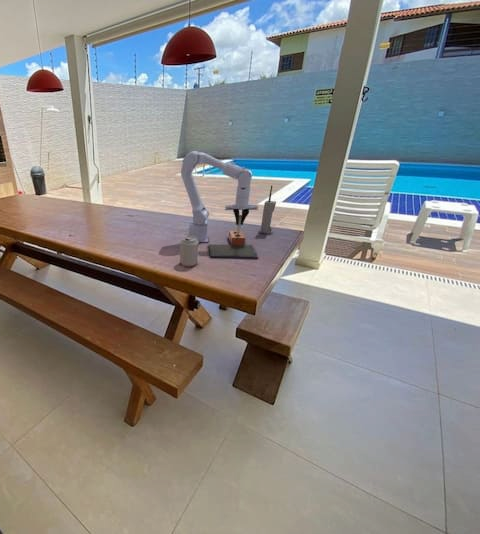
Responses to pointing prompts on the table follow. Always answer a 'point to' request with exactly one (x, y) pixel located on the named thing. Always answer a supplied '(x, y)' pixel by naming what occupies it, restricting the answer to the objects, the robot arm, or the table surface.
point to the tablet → (232, 251)
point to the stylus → (239, 224)
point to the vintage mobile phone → (267, 215)
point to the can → (189, 251)
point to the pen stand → (236, 238)
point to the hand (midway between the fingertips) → (239, 224)
